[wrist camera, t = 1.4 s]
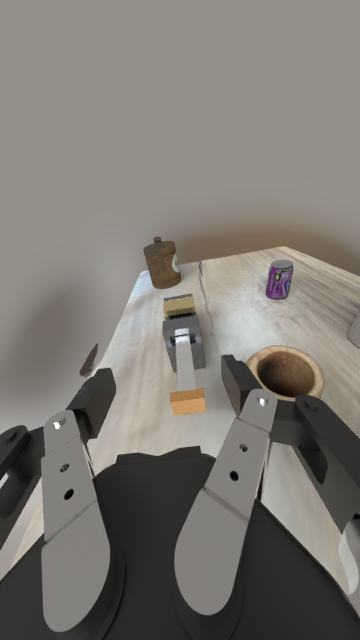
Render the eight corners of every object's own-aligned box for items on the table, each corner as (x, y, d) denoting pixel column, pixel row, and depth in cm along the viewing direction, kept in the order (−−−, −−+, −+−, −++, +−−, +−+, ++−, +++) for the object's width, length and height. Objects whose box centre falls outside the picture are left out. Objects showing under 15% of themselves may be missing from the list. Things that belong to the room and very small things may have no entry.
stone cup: (250, 452, 29) (258, 407, 20) (225, 388, 39) (224, 339, 30) (339, 433, 29) (386, 379, 20) (292, 374, 39) (311, 320, 30)
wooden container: (185, 282, 86) (177, 234, 73) (156, 291, 83) (143, 243, 71) (175, 273, 98) (167, 230, 85) (150, 281, 95) (137, 238, 82)
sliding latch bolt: (206, 411, 27) (204, 397, 25) (175, 415, 28) (170, 402, 25) (193, 337, 42) (191, 324, 39) (173, 340, 42) (169, 327, 40)
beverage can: (277, 303, 60) (283, 269, 53) (261, 295, 65) (264, 264, 58) (292, 295, 62) (300, 262, 55) (275, 289, 67) (280, 258, 60)
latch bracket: (205, 367, 44) (199, 328, 36) (173, 372, 44) (162, 334, 37) (197, 329, 56) (191, 293, 49) (172, 333, 57) (163, 298, 49)
